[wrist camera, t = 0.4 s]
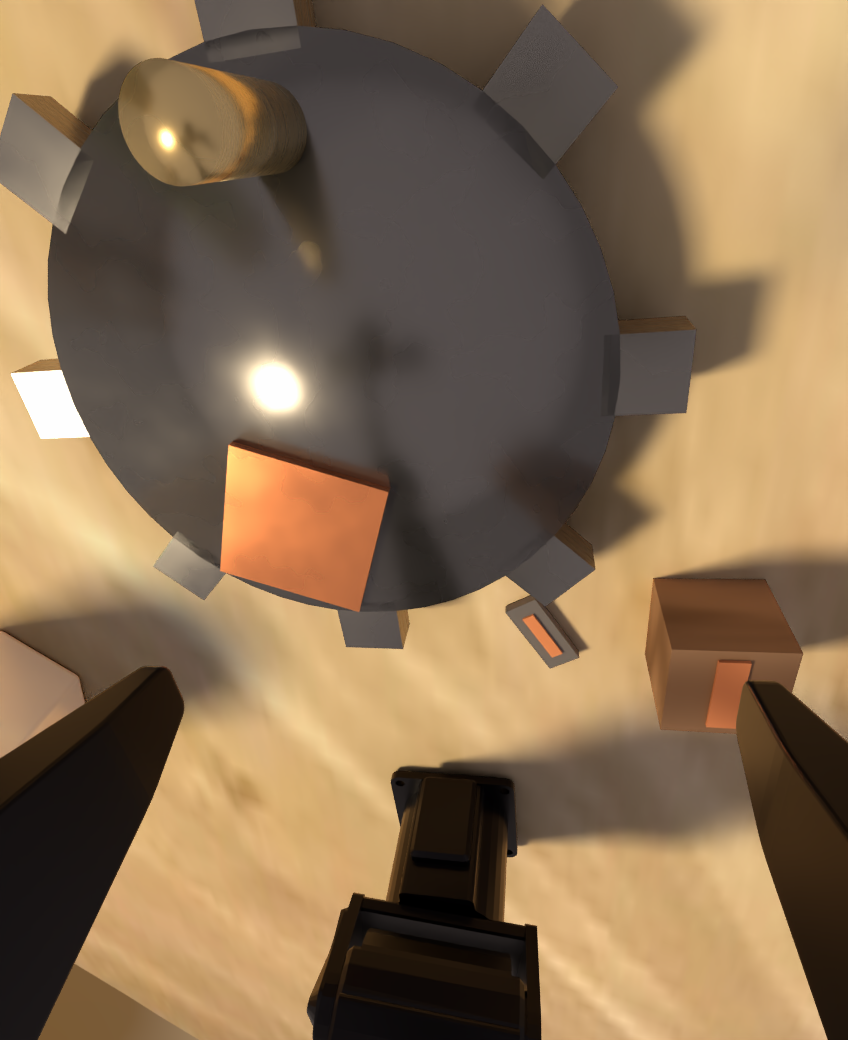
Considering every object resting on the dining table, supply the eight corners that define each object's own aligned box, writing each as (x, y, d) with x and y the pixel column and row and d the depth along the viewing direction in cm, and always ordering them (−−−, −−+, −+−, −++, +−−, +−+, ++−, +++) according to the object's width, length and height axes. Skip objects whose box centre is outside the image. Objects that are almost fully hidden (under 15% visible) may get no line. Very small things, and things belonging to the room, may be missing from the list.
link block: (746, 655, 25) (780, 738, 22) (644, 652, 26) (661, 732, 22) (764, 578, 23) (804, 656, 19) (653, 577, 24) (672, 652, 20)
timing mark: (578, 651, 26) (579, 659, 26) (549, 661, 27) (549, 670, 26) (535, 593, 25) (535, 601, 24) (505, 606, 25) (505, 613, 25)
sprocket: (649, 630, 24) (682, 775, 18) (154, 617, 28) (62, 732, 23) (738, -161, 13) (890, -386, 7) (-111, 14, 17) (-422, -45, 11)
